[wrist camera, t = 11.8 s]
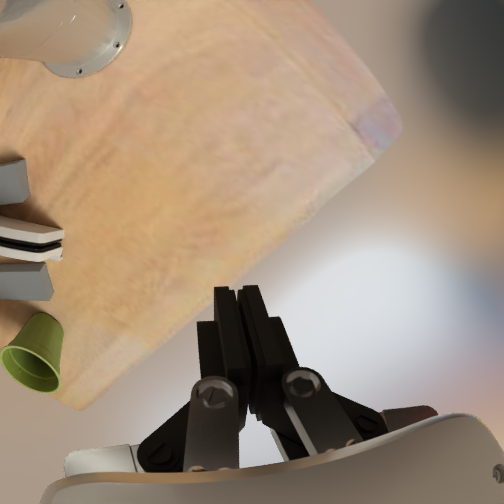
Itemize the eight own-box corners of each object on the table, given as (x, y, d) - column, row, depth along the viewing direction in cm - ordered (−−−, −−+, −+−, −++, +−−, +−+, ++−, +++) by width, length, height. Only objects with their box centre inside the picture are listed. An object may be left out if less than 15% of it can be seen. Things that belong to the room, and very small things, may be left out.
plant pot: (87, 340, 48) (74, 389, 38) (46, 353, 47) (32, 396, 38) (49, 292, 41) (26, 339, 32) (10, 310, 41) (-12, 353, 32)
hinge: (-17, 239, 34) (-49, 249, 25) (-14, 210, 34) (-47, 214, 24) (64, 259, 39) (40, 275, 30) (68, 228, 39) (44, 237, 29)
